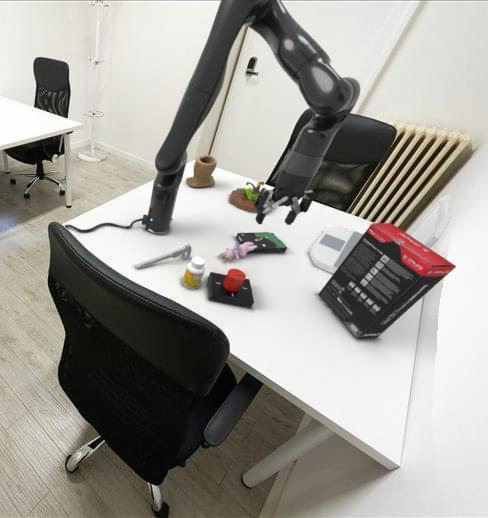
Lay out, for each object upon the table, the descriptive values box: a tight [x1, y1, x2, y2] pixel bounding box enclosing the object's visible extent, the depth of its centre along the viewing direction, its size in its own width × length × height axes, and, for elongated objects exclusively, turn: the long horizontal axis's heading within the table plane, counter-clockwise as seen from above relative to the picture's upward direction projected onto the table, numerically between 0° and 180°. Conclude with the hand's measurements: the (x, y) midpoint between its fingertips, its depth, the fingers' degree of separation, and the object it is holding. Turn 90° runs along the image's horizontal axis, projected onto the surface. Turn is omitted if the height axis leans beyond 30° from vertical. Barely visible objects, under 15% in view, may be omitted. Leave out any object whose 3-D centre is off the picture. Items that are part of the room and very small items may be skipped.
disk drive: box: [235, 231, 288, 255], centre depth 110 cm, size 10×3×15 cm
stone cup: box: [185, 154, 218, 188], centre depth 145 cm, size 15×12×15 cm
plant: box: [229, 181, 274, 214], centre depth 134 cm, size 20×20×11 cm
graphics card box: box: [318, 222, 457, 340], centre depth 76 cm, size 17×7×27 cm, turn 5°
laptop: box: [308, 193, 453, 275], centre depth 99 cm, size 33×24×26 cm
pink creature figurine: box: [218, 242, 257, 263], centre depth 103 cm, size 6×6×15 cm
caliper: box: [135, 243, 192, 269], centre depth 99 cm, size 20×1×6 cm, turn 109°
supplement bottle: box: [182, 256, 206, 290], centre depth 90 cm, size 5×5×10 cm
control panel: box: [207, 271, 255, 309], centre depth 89 cm, size 12×10×3 cm
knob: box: [223, 268, 247, 292], centre depth 87 cm, size 5×5×5 cm
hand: (272, 223), depth 84 cm, fingers open, 8 cm apart
